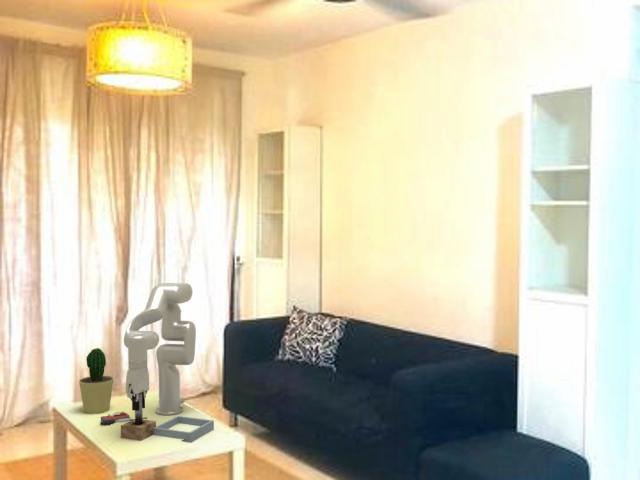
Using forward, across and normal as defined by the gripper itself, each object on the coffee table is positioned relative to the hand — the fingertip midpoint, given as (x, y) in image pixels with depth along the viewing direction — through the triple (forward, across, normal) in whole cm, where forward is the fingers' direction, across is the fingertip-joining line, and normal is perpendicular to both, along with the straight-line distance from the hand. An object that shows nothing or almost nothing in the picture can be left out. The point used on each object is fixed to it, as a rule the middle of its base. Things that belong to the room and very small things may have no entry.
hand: (138, 408), depth 270 cm
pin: (+7, 0, 0) cm, 7 cm away
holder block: (+12, 0, 0) cm, 12 cm away
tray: (+12, -12, +14) cm, 22 cm away
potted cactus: (+13, -24, -43) cm, 51 cm away
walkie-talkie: (+13, -15, -20) cm, 28 cm away
